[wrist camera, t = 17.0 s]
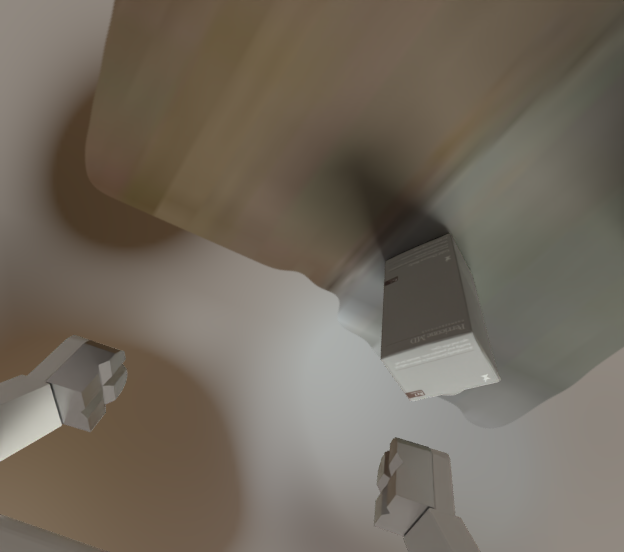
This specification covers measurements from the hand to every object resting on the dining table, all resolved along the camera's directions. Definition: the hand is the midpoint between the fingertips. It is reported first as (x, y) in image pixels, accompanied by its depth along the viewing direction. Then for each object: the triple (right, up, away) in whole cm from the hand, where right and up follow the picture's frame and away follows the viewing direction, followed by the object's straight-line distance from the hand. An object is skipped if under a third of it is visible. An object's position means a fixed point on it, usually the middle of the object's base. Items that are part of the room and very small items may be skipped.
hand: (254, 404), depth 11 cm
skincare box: (+15, +5, +34) cm, 38 cm away
